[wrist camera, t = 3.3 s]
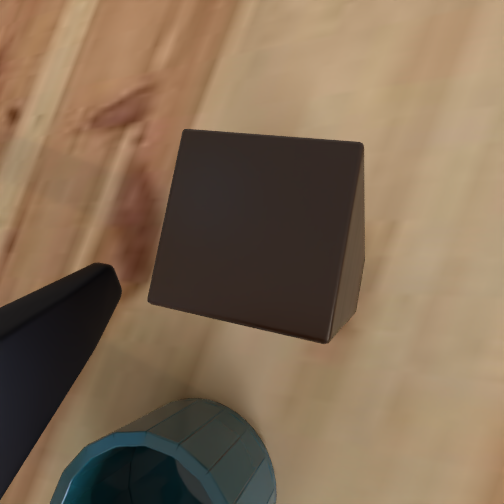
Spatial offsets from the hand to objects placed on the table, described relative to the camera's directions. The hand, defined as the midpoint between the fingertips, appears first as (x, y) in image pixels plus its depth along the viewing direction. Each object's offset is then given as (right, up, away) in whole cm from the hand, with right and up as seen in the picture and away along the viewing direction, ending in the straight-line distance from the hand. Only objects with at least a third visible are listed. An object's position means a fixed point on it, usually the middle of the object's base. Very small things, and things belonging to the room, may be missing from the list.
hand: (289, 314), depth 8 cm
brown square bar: (+3, 0, +9) cm, 9 cm away
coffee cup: (-3, -9, +9) cm, 13 cm away
